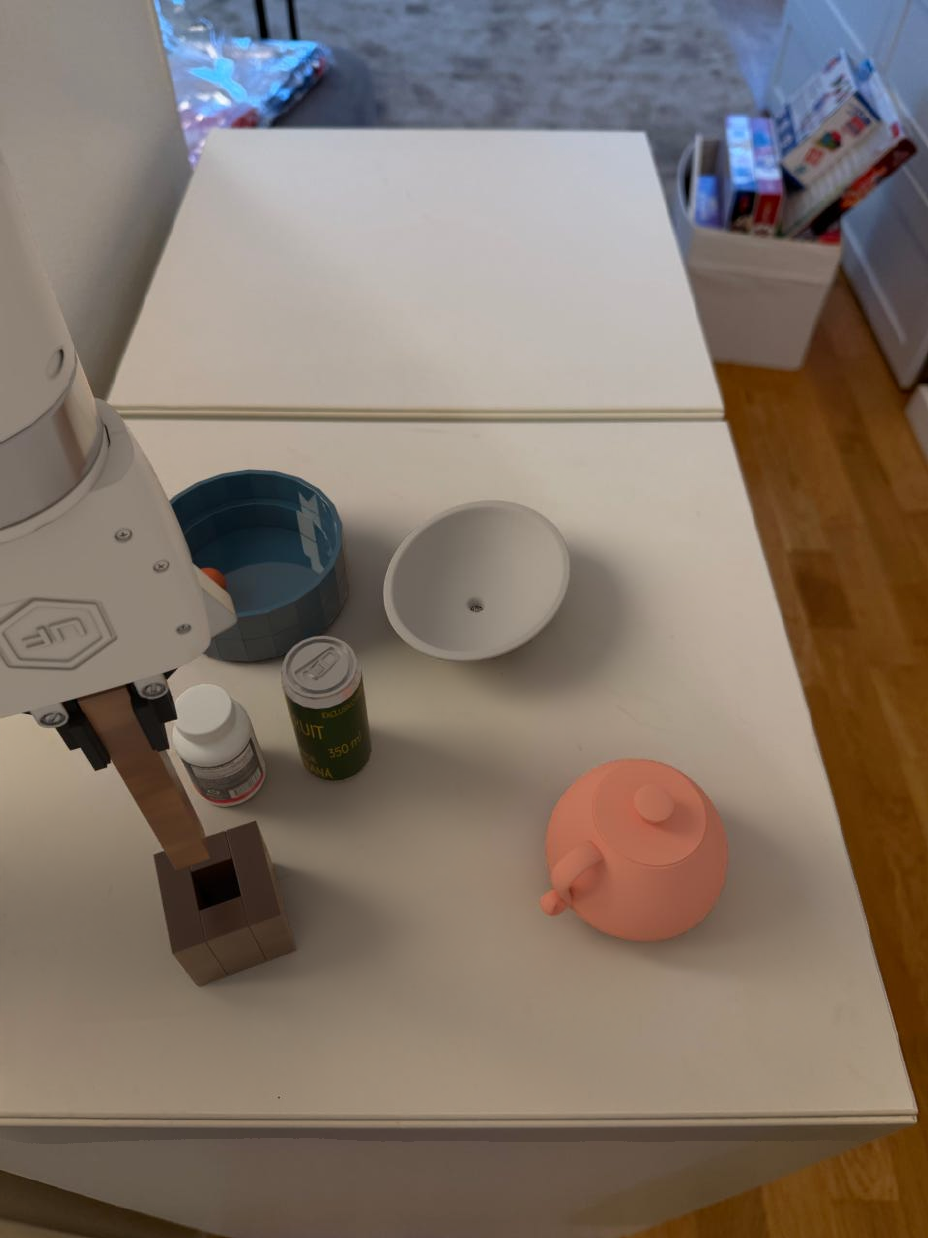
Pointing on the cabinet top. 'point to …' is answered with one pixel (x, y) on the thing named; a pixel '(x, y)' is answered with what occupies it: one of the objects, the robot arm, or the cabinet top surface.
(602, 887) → the pink teapot
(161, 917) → the cabinet top surface
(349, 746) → the green drink can
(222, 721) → the pill bottle
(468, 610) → the dish
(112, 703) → the brown wooden stick
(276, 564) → the bowl
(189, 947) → the stick stand
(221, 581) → the ball
